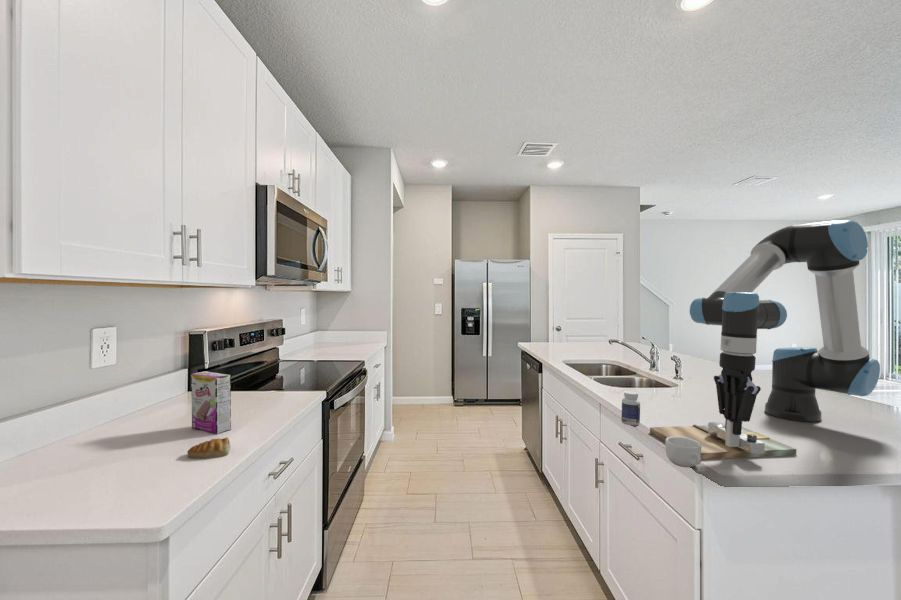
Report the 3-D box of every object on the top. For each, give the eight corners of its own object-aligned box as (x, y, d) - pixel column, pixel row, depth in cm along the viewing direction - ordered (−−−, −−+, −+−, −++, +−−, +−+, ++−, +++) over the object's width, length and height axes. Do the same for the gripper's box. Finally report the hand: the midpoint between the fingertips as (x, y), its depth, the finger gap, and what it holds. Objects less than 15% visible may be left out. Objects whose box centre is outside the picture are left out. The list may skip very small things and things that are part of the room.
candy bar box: (190, 429, 128) (189, 373, 127) (206, 424, 133) (205, 370, 132) (216, 435, 123) (216, 377, 123) (232, 429, 128) (231, 374, 127)
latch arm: (703, 431, 123) (704, 418, 123) (720, 430, 123) (721, 417, 123) (747, 453, 107) (748, 438, 106) (767, 453, 107) (767, 438, 107)
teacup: (658, 458, 110) (658, 436, 110) (686, 456, 111) (687, 435, 111) (684, 475, 100) (684, 452, 100) (714, 473, 101) (715, 450, 101)
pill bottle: (641, 426, 135) (642, 395, 134) (623, 425, 136) (623, 394, 135) (637, 421, 140) (638, 391, 140) (619, 420, 141) (620, 390, 141)
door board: (736, 429, 133) (736, 422, 132) (796, 455, 113) (796, 446, 113) (649, 432, 129) (650, 424, 129) (696, 459, 109) (696, 450, 109)
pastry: (185, 462, 105) (185, 446, 105) (189, 452, 111) (189, 438, 111) (229, 456, 109) (229, 441, 109) (231, 447, 115) (230, 433, 115)
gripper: (705, 349, 116) (701, 436, 117) (743, 357, 103) (738, 456, 104) (731, 349, 117) (727, 436, 118) (772, 358, 104) (766, 455, 105)
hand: (732, 445), depth 111 cm, fingers closed
